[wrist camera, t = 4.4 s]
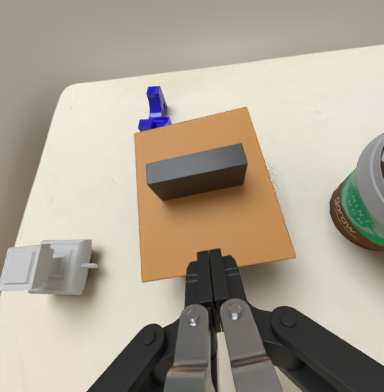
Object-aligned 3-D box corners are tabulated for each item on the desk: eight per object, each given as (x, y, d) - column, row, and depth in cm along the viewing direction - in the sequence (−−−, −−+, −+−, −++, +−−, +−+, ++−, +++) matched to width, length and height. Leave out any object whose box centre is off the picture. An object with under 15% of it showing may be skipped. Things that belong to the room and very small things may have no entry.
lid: (136, 137, 24) (116, 106, 19) (246, 111, 22) (251, 72, 18) (145, 282, 18) (117, 286, 13) (293, 258, 17) (318, 254, 12)
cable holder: (168, 143, 32) (160, 127, 29) (147, 143, 33) (138, 127, 29) (175, 105, 35) (168, 85, 31) (156, 105, 36) (148, 86, 32)
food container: (298, 189, 26) (337, 146, 17) (340, 170, 26) (402, 117, 17) (363, 283, 22) (465, 293, 12) (415, 260, 22) (555, 253, 12)
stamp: (109, 241, 28) (65, 230, 20) (102, 293, 26) (49, 303, 18) (53, 242, 30) (-8, 233, 22) (42, 292, 27) (-32, 301, 19)
